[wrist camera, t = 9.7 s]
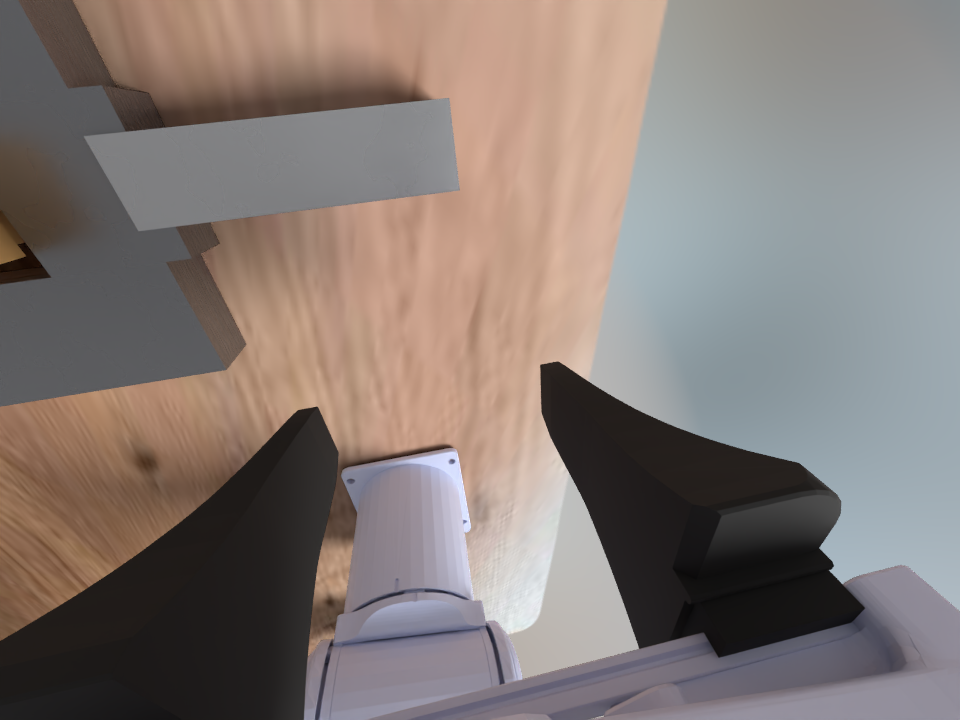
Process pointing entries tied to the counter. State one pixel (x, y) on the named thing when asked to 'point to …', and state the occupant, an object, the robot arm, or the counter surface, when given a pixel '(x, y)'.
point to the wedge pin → (9, 241)
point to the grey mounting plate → (157, 206)
